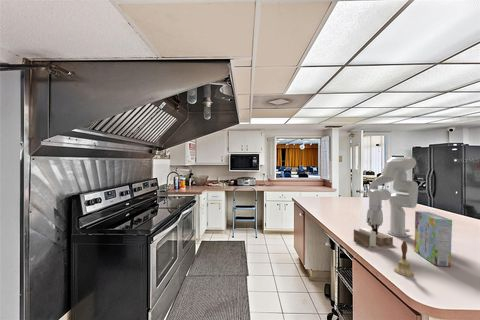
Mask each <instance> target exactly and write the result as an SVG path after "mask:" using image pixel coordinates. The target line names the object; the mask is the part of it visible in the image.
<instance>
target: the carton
mask: <svg viewBox="0 0 480 320" xmlns="http://www.w3.org/2000/svg"><path fill="white" fill-rule="evenodd" d="M358 229H359V231H360V232H362V233H365V234H367V235H369V246H376V232H374V231H372V229H370V228H366V227H359V228H358Z"/></svg>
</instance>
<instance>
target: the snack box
mask: <svg viewBox="0 0 480 320" xmlns="http://www.w3.org/2000/svg"><path fill="white" fill-rule="evenodd" d="M414 213H415V214H414V215H415V217H414V246H413V247H414V252H416V254H417V255H420V257H422V258H424V259H426V260H427V261H428V262H430V263H431V264H433V265H434V266H439V267H449V268H450V267H452V266H451V265H452V238H453V237H452V236H453V235H452V234H453V233H452V232H453V230H452V229H453V219H450V218H447V217H444V216H442V215H438V214H436V213H433V212H430V211H419V210H416V211H415V212H414Z"/></svg>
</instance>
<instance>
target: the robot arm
mask: <svg viewBox="0 0 480 320" xmlns="http://www.w3.org/2000/svg"><path fill="white" fill-rule="evenodd" d="M416 165H417V161H416V159H415V158H414V157H411V156H410V157H409V156H404V157H403V156H394V157H390V158H389V159H388V160H386V162H385V163H384V167H383V168H382V169H383V170H382V171H381V174H380V175H379V176H378V177H377V178H375V179H374V180H373V181H372V182H371V183H370V185H369V186H368V190H367V195H368V196H367V197H368V209H367V212H366V220H365V221H366V223H367V226H369V227H371V230H372V231H374V232H376V235H377V234H378V232H379V228H380V226H382V225H383V222H384V213H383V209H382V208H383V206H382V204H383V203H382V201H387V200H389V206H390V209H389V210H390V213H389V214H390V216H389V217H390V221H389V222H390V223H389V224H390V227H389V230H387V233H388V235H389V236H392V237H394V236H395V237H399V238H407V237H408V236H409V235H408V233H410V229H407V228H406V211H405V209H404V208H408V209H415V208H416V207H417V205H418V195H419V185H418V184H419V183H417V181H415V180H408V173H407V172H408V171H411V170H412V169H414V168H415V166H416ZM392 182H393V184H392V190H393V192H397V193H391V192H390V190H388V189H385V188H378V187H379V186H381V185H385V184H388V183H392ZM405 193H406V194H405Z"/></svg>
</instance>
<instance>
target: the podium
mask: <svg viewBox="0 0 480 320" xmlns="http://www.w3.org/2000/svg"><path fill="white" fill-rule="evenodd" d="M357 230H358V229H353V241H354V242H355V243H357V244H359V245H361V246H364V247H366V248H377V247H378V246H379V247H382V246H383V247H385V246H384V245H386V246H393V244H394V238H393V237H394V236H391V235H389V234H388V235H387V234H385V233H382V232H379V231H378V234H377V235H376V246H369V235H367V234H365V233H362V232H360V231H357Z"/></svg>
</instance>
